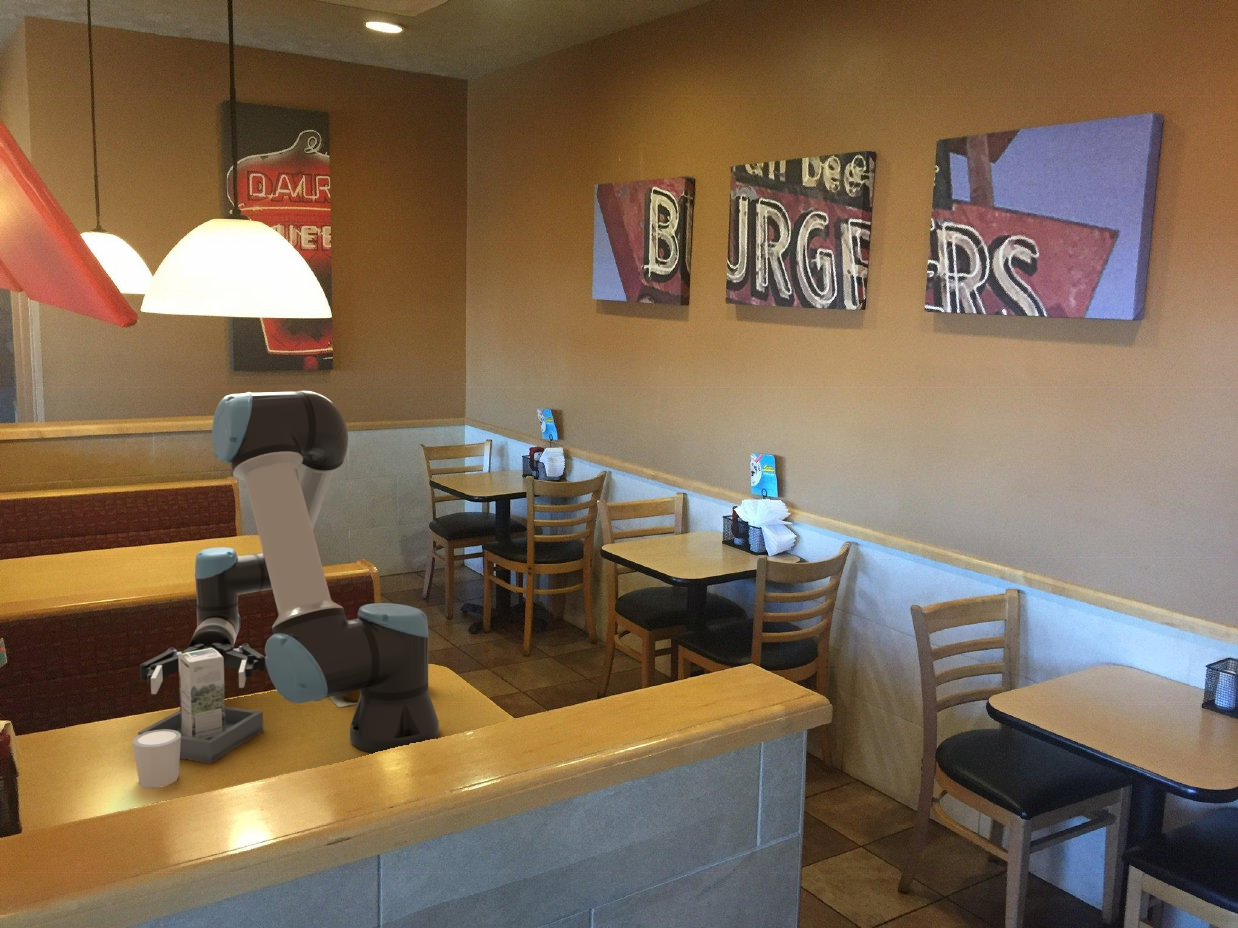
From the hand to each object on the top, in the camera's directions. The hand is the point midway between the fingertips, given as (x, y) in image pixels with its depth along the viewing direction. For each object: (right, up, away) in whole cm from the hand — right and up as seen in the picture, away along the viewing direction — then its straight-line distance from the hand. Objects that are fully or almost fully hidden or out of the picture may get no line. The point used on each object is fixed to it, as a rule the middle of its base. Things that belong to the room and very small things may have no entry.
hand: (197, 682), depth 168 cm
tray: (-1, -11, +5) cm, 12 cm away
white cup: (-2, -13, -10) cm, 17 cm away
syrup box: (-1, -10, +5) cm, 11 cm away
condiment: (+19, -9, +26) cm, 33 cm away
